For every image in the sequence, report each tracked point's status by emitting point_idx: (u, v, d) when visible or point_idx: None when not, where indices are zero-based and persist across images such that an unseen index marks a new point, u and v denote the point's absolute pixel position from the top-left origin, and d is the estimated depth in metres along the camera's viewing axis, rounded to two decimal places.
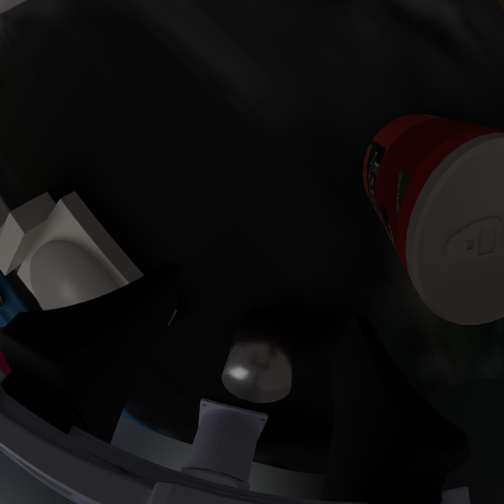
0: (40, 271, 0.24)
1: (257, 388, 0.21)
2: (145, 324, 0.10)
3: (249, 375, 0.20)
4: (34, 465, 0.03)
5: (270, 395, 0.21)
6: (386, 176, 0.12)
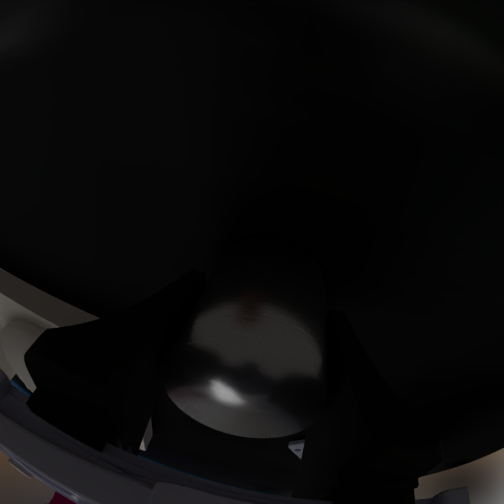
0: (20, 369, 0.18)
1: (256, 408, 0.08)
2: (173, 334, 0.10)
3: (208, 386, 0.08)
4: (34, 465, 0.03)
5: (295, 411, 0.08)
6: None
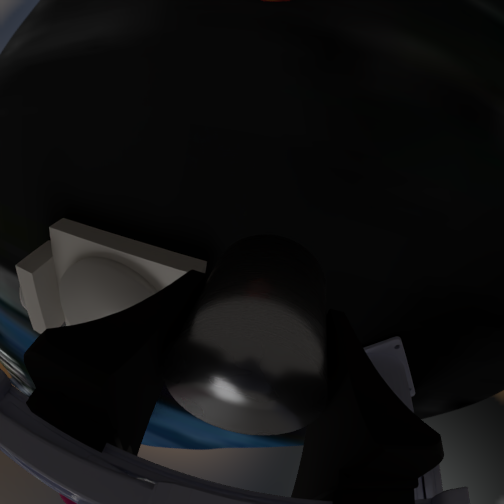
0: (74, 312, 0.25)
1: (257, 404, 0.09)
2: (173, 334, 0.10)
3: (209, 382, 0.08)
4: (34, 465, 0.03)
5: (296, 407, 0.08)
6: None
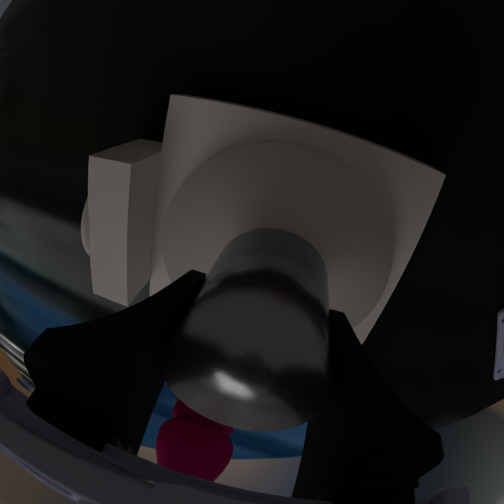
0: (188, 254, 0.16)
1: (256, 399, 0.08)
2: None
3: (209, 373, 0.08)
4: (34, 465, 0.03)
5: (296, 405, 0.08)
6: None
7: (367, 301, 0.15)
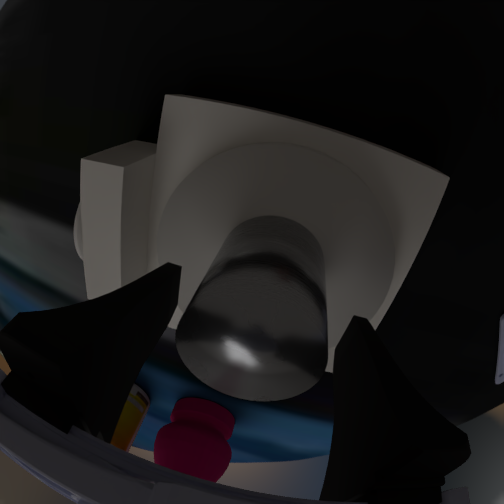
0: (184, 259, 0.15)
1: (261, 367, 0.10)
2: (145, 324, 0.10)
3: (220, 342, 0.09)
4: (34, 465, 0.03)
5: (298, 371, 0.09)
6: None
7: (368, 307, 0.15)
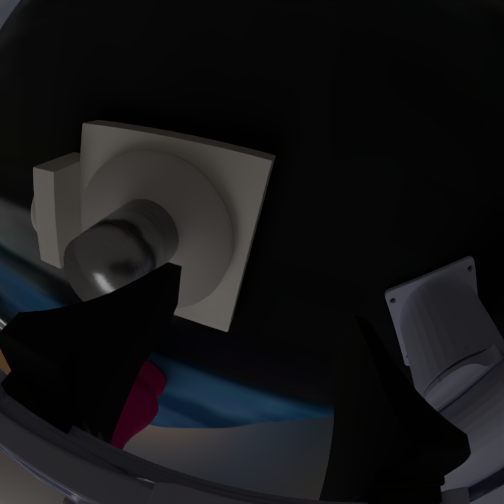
0: None
1: (104, 286, 0.15)
2: (145, 324, 0.10)
3: (82, 268, 0.15)
4: (34, 465, 0.03)
5: None
6: None
7: (217, 267, 0.20)
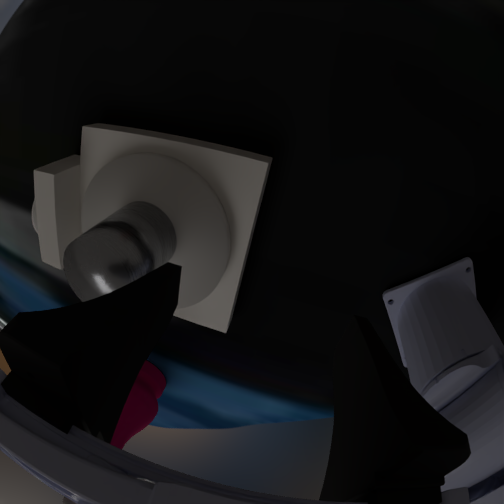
0: None
1: (103, 287, 0.15)
2: (145, 324, 0.10)
3: (81, 269, 0.15)
4: (34, 465, 0.03)
5: None
6: None
7: (215, 269, 0.21)
